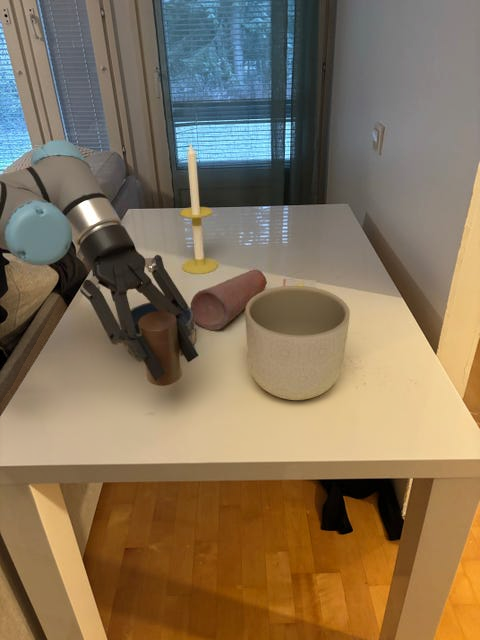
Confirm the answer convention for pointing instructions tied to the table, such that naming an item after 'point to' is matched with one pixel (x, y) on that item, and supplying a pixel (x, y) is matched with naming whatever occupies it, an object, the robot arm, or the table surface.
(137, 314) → the bowl
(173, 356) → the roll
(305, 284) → the tea bag
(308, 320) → the planter
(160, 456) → the table surface
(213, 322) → the pink vase
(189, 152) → the candle
